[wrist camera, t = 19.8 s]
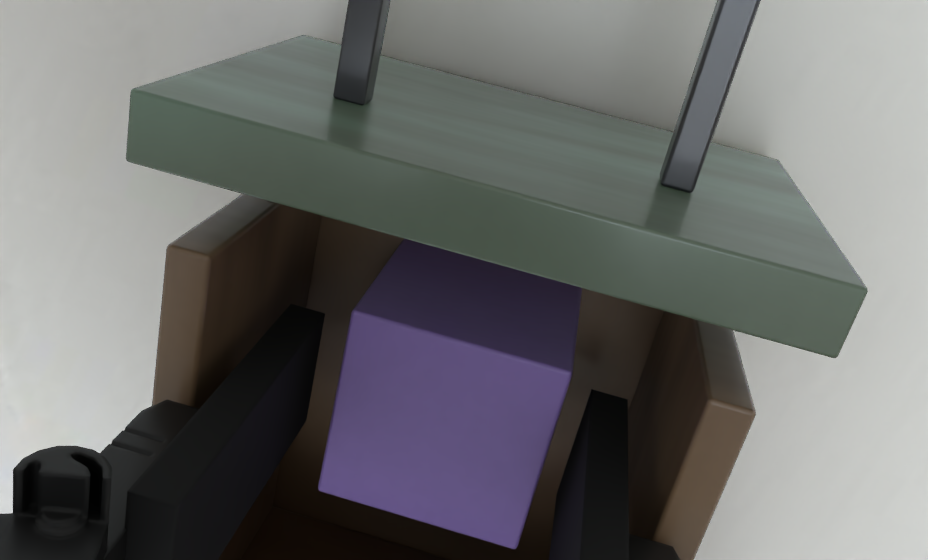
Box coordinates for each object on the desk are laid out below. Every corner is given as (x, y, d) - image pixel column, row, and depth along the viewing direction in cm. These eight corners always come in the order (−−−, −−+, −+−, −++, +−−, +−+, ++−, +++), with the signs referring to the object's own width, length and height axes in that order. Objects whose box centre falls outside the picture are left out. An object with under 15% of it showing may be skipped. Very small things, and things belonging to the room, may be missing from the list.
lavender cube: (404, 236, 21) (350, 310, 17) (583, 285, 20) (573, 372, 16) (371, 391, 22) (316, 491, 18) (535, 439, 22) (516, 552, 18)
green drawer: (341, -235, 18) (159, -344, 11) (882, -105, 17) (1064, -132, 10) (235, 489, 26) (87, 702, 19) (608, 602, 25) (602, 870, 18)
